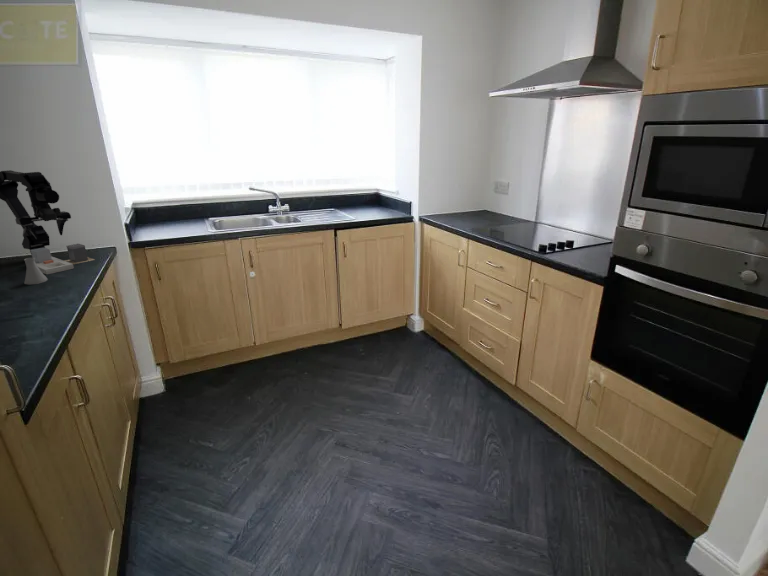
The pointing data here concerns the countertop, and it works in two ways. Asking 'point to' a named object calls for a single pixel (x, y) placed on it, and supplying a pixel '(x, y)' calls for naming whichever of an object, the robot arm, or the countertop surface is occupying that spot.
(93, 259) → the cork pad
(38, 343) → the countertop surface
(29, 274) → the flask
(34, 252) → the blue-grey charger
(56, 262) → the power strip
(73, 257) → the block
